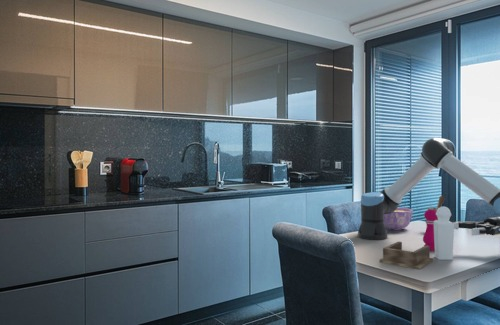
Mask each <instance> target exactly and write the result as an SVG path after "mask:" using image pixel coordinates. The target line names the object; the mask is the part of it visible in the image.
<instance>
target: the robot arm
mask: <svg viewBox="0 0 500 325" xmlns="http://www.w3.org/2000/svg"><path fill="white" fill-rule="evenodd" d="M456 150H457V149H456V146H455V144H454V142H452V141H451V140H449V139H447V138H437V137H433V138H429V139H427V140H426V141H425V142H424V143H423V144H422V148H421V152H420V157H419V158H418V160H417V161H416V162H414V163H413V164H412V165H411V166H410V167H409V168H408V169H407V170H406V171H405V172H404V173H403V174H402V175H401V176H400V177H399V178H398V179H396V181H395V182H394V183H393V184H391V185H390V187H387V186H386V187H384V188H383V189H382V190H381V191H380V192H378V191H373V192H366V193H363V194H362V195H361V198H360V219H361V220H360V225H359V228H358V231H357V237H358V238H361V239H364V240H365V239H366V240H375V241H376V240H386V239H388V232H387V227H385V225H384V215H385V214H390V213H393V212H394V211H395V210H396V209H397V208H399V206H400V204H401V203H402V202H403V200H402V199H403V198H404V197H405V196H406V195H407V194H408V193H409V192H411V190H412V189H413V188H415V187H416V186H417V185H418V184H419V183H420V182H421V181H422V180H423V179H424V178H425V177H427V176H428V175H429V174H430V173H431V172H432V171H433V170H438V169H443V170H444V171H445V172H446V173H448V174H449V175H450V176H452V177H453V178H455V179H456V180H457V181H458V182H460V183H461V184H462V185H464V186H465V187H466V188H468V189H469V190H471V192H473V193H474V194H475V195H477V196H478V197H479V198H481V199H482V200H483V201H485V202H486V203H488V204H489V205H490V206H492V208H493V209H494V211H495V212H496V213H497V214H499V215H500V188H499V187H497V186H495V185H494V184H493V183H492V182H490V181H489V180H487V179H486V178H485V177H483V176H482V175H481V174H480V173H478V172H476V171H475V170H474V169H472V168H471V167H470V166H468V165H467V164H466V163H464V162H463V161H462V160H460V159H458V158H457V157H456V156H455V155H456V152H457V151H456ZM453 223H454V230H458V229H468V230H469V229H471V236H483V235H484V236H485V235H489V236H496V235H500V216H495V217H487V218H486V219H485V220H484V221H453Z"/></svg>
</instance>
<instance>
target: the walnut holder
mask: <svg viewBox="0 0 500 325" xmlns="http://www.w3.org/2000/svg"><path fill="white" fill-rule="evenodd" d="M424 245H425V244H424ZM424 245H423V246H422V247H420V248H417V249H416V250H413V251H409V250H404V249H403V242H402V241H396V242H395V243H392V244H390V245H387V246H385V247H383V248H382V258H380V259H379V263H382V264H389V265H394V266H398V267H400V266H401V267H403V268H404V267H405V268H410V269H416V270H421V269H422V268H424V267H426V266H427V265H429V264H430V263H432V262H434V257H430V251H429V246H427V245H425V246H424Z"/></svg>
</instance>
